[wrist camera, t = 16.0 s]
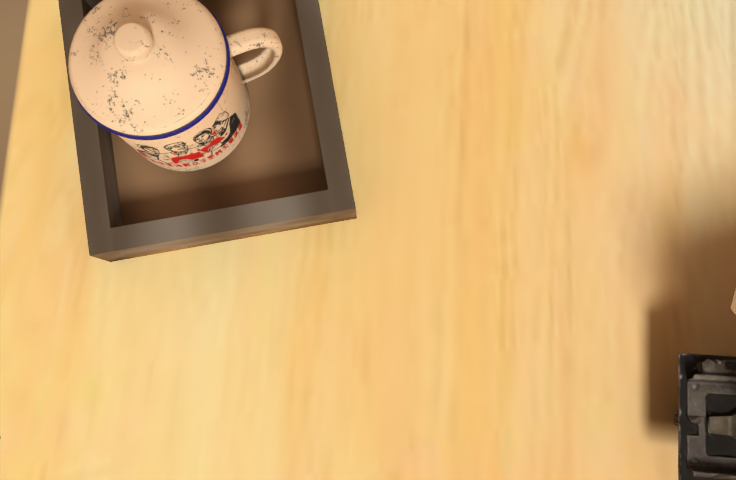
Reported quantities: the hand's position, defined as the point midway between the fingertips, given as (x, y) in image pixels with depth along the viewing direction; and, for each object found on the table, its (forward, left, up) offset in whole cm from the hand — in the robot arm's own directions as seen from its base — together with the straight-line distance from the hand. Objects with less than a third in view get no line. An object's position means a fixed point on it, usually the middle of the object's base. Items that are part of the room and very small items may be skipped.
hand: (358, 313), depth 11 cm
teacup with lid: (+8, -17, -35) cm, 40 cm away
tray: (+8, -17, -35) cm, 40 cm away
